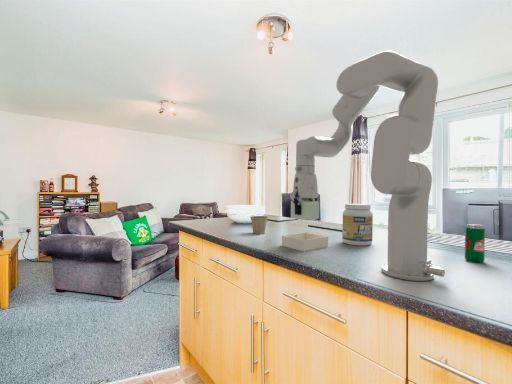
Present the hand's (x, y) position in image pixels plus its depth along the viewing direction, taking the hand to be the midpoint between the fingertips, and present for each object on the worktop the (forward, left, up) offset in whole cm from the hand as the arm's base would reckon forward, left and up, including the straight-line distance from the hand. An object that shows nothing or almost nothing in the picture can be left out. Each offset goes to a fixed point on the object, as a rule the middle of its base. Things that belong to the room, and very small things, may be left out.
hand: (304, 213), depth 109 cm
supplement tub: (-9, -23, -13) cm, 28 cm away
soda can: (-48, -29, -13) cm, 58 cm away
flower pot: (+35, -3, -13) cm, 37 cm away
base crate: (0, 0, -14) cm, 14 cm away
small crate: (0, 0, -2) cm, 2 cm away
